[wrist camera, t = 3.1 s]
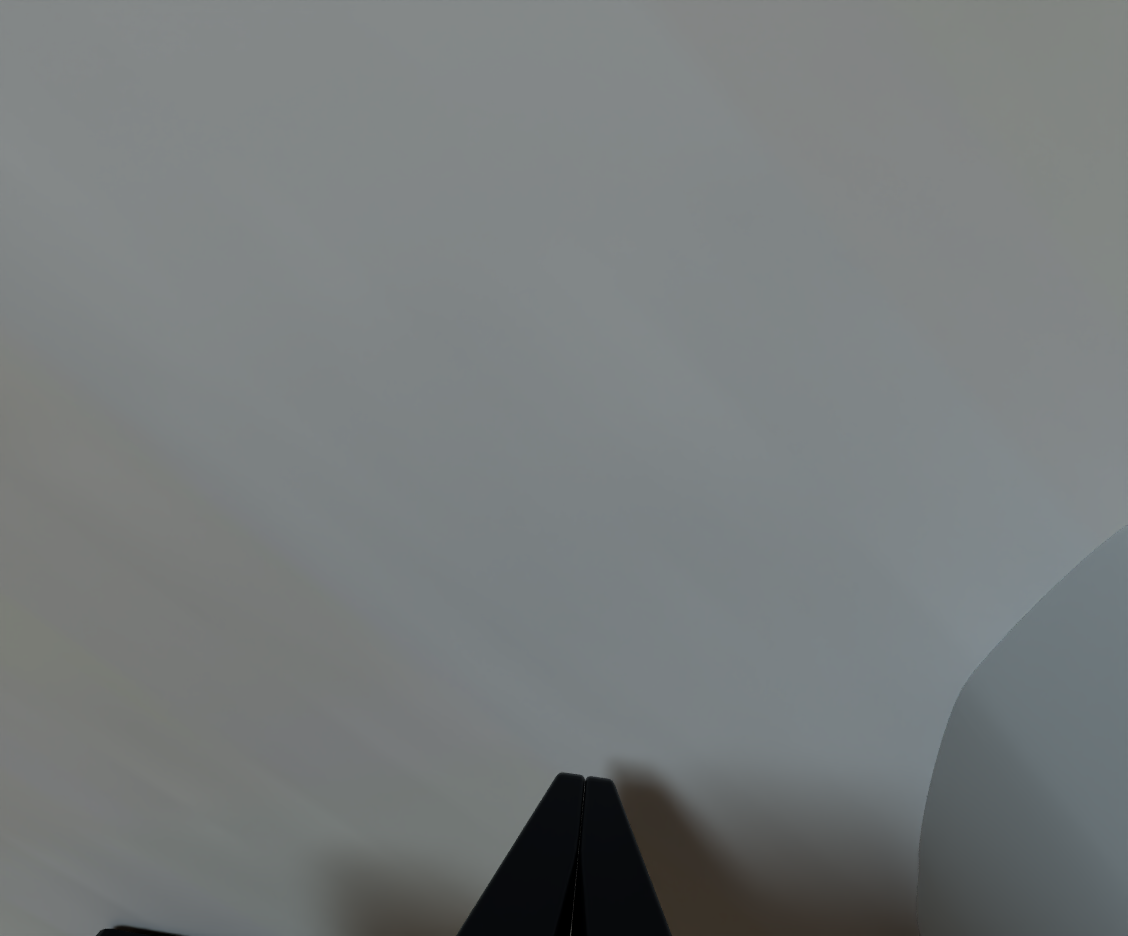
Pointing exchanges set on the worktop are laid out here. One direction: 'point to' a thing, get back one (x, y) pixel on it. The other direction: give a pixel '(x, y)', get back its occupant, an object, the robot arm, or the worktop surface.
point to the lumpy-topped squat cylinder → (1038, 773)
